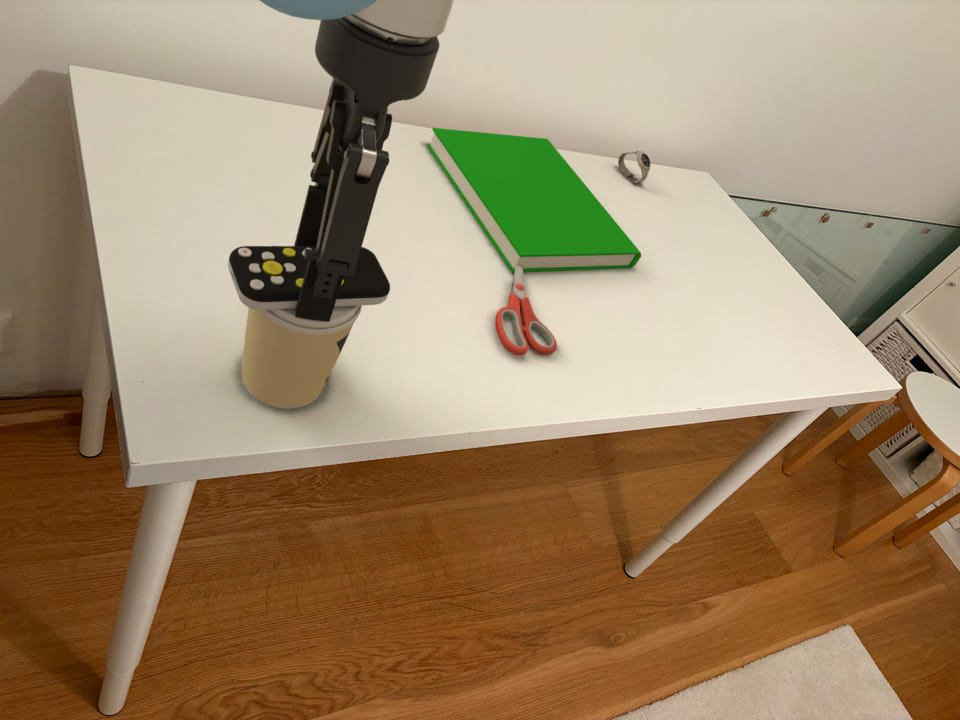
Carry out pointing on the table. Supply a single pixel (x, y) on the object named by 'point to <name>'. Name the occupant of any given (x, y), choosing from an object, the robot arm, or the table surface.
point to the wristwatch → (642, 162)
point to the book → (531, 203)
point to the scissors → (528, 321)
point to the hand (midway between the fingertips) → (311, 282)
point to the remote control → (298, 277)
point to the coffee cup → (292, 354)
